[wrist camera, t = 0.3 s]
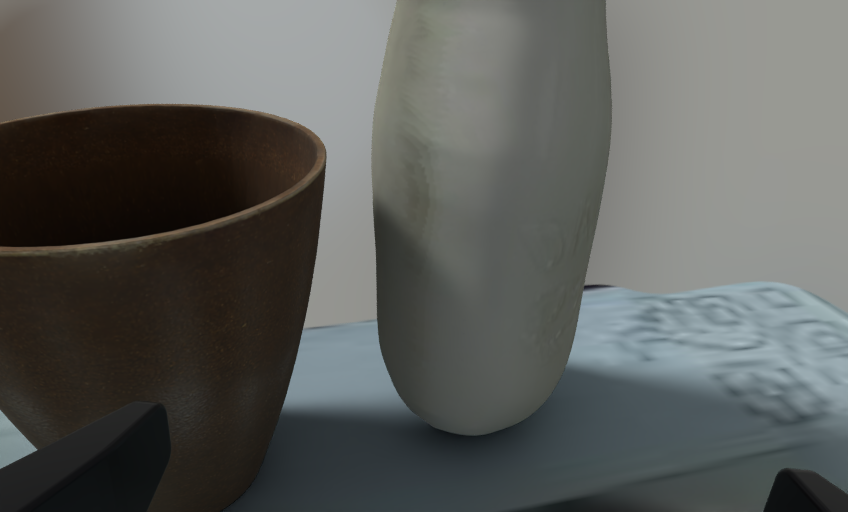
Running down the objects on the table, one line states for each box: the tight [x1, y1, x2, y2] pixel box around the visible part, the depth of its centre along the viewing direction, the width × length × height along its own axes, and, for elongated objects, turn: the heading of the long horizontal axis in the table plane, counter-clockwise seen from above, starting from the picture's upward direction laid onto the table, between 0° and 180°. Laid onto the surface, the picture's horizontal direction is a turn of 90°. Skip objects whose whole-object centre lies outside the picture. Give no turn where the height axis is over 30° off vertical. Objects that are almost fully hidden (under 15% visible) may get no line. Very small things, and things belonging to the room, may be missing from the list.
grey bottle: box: [371, 0, 612, 435], centre depth 27 cm, size 10×10×28 cm
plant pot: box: [0, 104, 326, 512], centre depth 26 cm, size 15×15×16 cm
